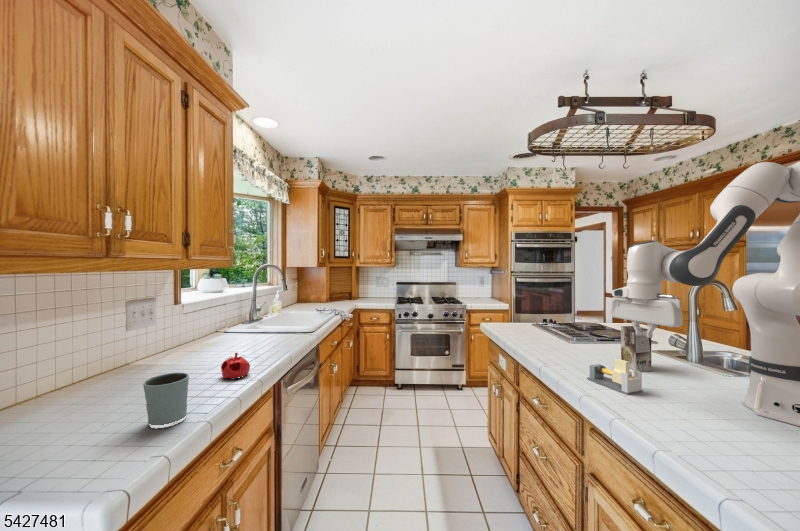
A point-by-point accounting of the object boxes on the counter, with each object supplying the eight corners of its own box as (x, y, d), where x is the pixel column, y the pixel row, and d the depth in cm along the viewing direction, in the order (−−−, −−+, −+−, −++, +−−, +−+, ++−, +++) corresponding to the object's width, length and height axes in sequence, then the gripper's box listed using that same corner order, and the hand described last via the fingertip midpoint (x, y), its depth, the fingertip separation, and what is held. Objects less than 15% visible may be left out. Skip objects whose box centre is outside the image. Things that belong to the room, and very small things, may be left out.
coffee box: (652, 371, 128) (652, 329, 128) (635, 371, 128) (635, 330, 128) (635, 364, 137) (635, 325, 137) (620, 364, 137) (620, 325, 137)
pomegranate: (234, 372, 132) (234, 349, 132) (255, 373, 130) (255, 350, 130) (214, 380, 123) (214, 355, 123) (236, 382, 120) (236, 356, 120)
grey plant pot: (195, 412, 96) (195, 371, 96) (178, 429, 86) (178, 383, 86) (157, 415, 94) (156, 373, 94) (135, 433, 84) (134, 386, 84)
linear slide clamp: (642, 391, 108) (642, 371, 108) (626, 394, 106) (626, 374, 106) (601, 377, 122) (601, 359, 122) (586, 379, 120) (586, 361, 120)
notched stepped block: (631, 383, 109) (631, 361, 109) (623, 385, 108) (623, 362, 108) (620, 379, 113) (620, 358, 113) (612, 381, 112) (612, 359, 112)
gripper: (688, 295, 95) (688, 343, 95) (620, 289, 114) (621, 329, 114) (673, 296, 93) (673, 345, 93) (607, 290, 112) (607, 331, 112)
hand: (643, 336), depth 104 cm, fingers closed
